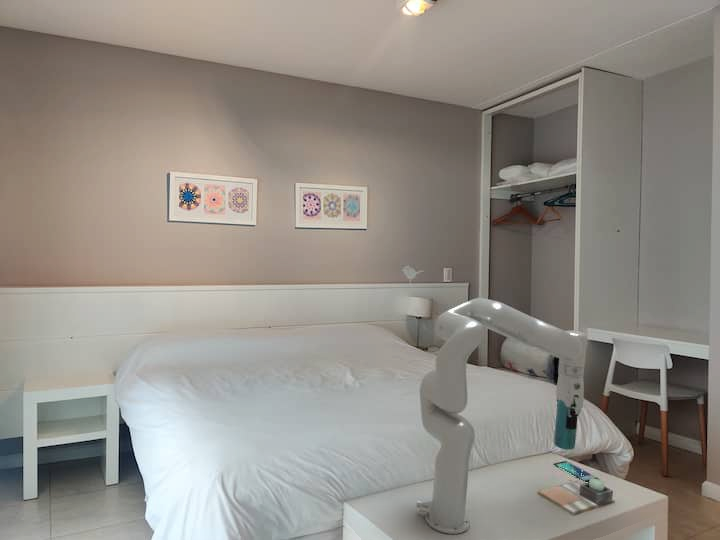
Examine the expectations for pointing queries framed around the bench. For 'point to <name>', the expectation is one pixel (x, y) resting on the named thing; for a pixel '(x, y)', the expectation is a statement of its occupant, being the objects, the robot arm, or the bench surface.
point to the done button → (596, 485)
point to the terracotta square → (559, 495)
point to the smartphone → (575, 468)
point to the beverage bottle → (564, 429)
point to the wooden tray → (584, 497)
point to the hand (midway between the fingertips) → (565, 424)
